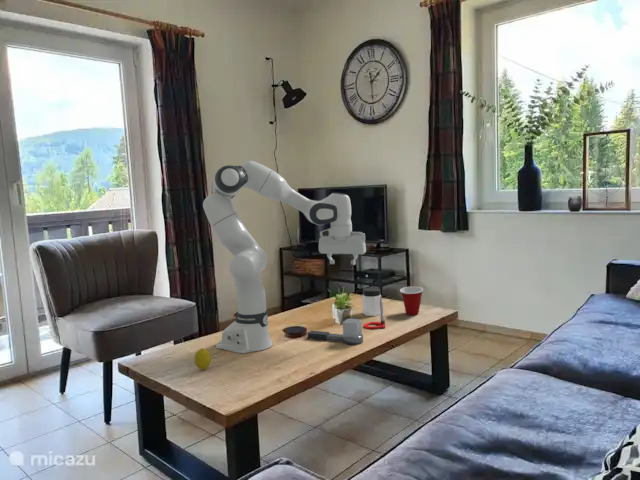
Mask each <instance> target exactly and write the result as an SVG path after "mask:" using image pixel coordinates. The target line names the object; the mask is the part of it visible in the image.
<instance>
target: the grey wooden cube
mask: <svg viewBox="0 0 640 480" xmlns="http://www.w3.org/2000/svg"><path fill="white" fill-rule="evenodd" d="M362 326H363V325H362V319H361V318H360V319H359V318H347V319H345V320H344V321H343V322H342V335H343V337H347V338H358V337H359V336H360V335H361V334H363V330H362V329H363V328H362Z"/></svg>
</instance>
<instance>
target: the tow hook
mask: <svg viewBox="0 0 640 480" xmlns="http://www.w3.org/2000/svg"><path fill="white" fill-rule="evenodd" d="M383 304H384V302H383V297H382V296H381V297H380V310H381V314H380V321H369V322H366V323H364V324H363V328H364V329H367V330H376V329H385V328H386V321H385V314H384V305H383ZM371 325H372V326H371ZM373 325H375V326H373Z"/></svg>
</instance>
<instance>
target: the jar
mask: <svg viewBox="0 0 640 480" xmlns="http://www.w3.org/2000/svg"><path fill="white" fill-rule="evenodd" d="M361 296H362V314H364V315H363V316H366V317H376V316H381V310H380V297H382V295H381V289H380V288H378V287H364V288H363V289H362V295H361Z"/></svg>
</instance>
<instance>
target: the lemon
mask: <svg viewBox="0 0 640 480" xmlns="http://www.w3.org/2000/svg"><path fill="white" fill-rule="evenodd" d="M211 359H212V357H211V353H210V352H209V351H208V350H207V349H205V348H200V349H198V350H197V351H196V352H195V355H194V364H195V367H197V368H198V369H199V370H202V371H205V370H206V369H208V368H209V367H210V365H211V361H212V360H211Z"/></svg>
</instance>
